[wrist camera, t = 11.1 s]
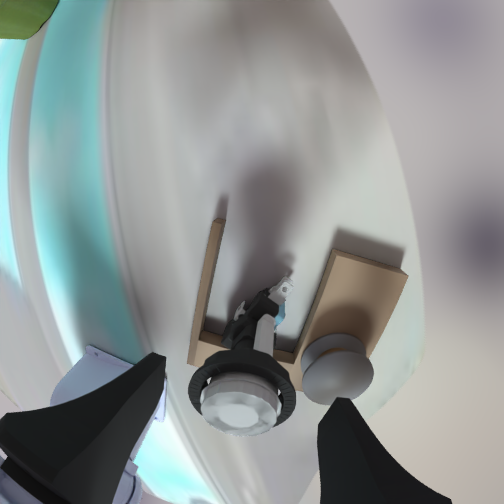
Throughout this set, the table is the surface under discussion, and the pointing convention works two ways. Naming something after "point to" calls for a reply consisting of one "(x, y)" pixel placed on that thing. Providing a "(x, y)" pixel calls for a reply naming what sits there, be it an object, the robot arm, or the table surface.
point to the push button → (247, 371)
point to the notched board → (320, 324)
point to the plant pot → (23, 17)
